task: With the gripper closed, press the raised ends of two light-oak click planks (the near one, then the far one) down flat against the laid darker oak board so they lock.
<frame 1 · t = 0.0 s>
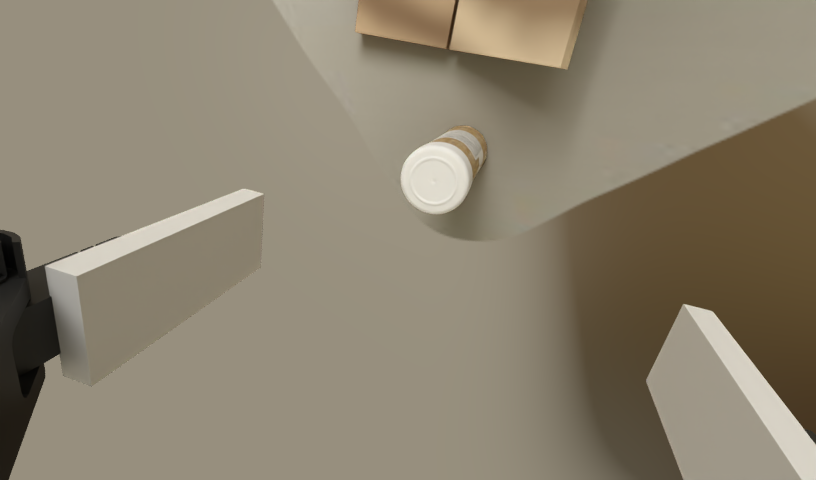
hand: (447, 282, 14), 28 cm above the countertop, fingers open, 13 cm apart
sprinkles bottle: (463, 149, 40), on the countertop
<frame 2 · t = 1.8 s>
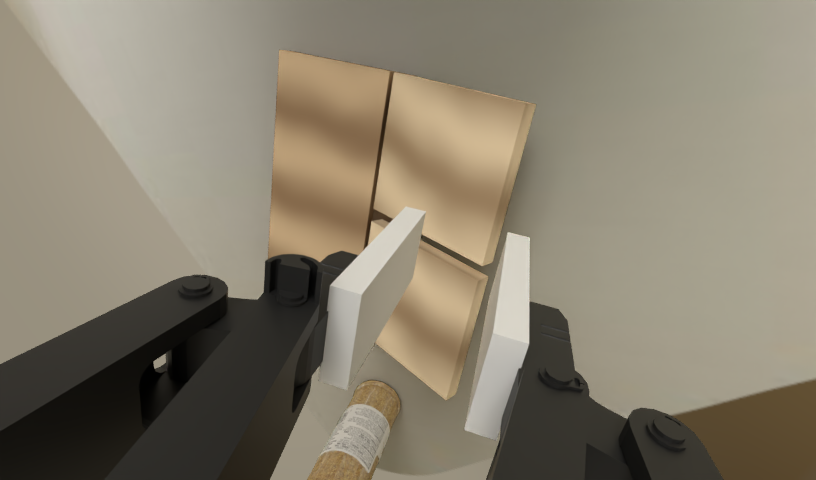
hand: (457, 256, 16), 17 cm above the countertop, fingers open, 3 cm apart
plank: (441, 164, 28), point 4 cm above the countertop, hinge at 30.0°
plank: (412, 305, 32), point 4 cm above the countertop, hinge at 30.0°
laid board: (328, 195, 35), on the countertop
sprinkles bottle: (378, 396, 41), on the countertop
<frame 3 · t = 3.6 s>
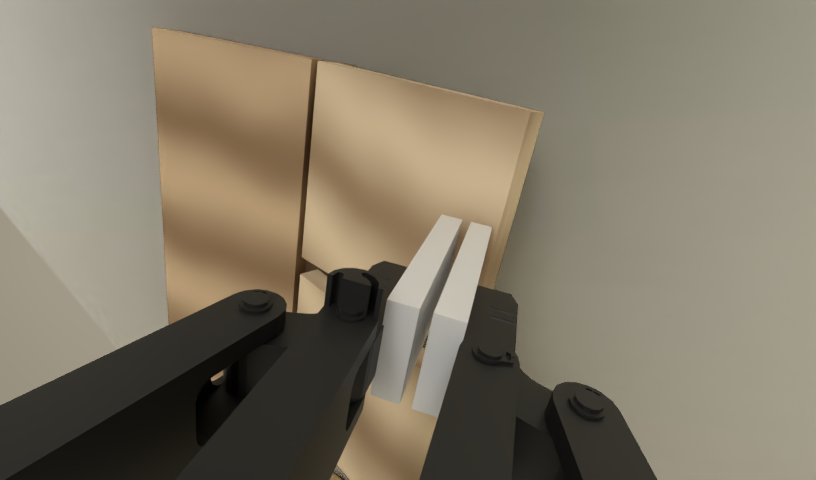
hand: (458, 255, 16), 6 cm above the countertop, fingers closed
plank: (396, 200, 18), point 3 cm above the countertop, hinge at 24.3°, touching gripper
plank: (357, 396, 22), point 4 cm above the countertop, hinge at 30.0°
laid board: (245, 234, 25), on the countertop
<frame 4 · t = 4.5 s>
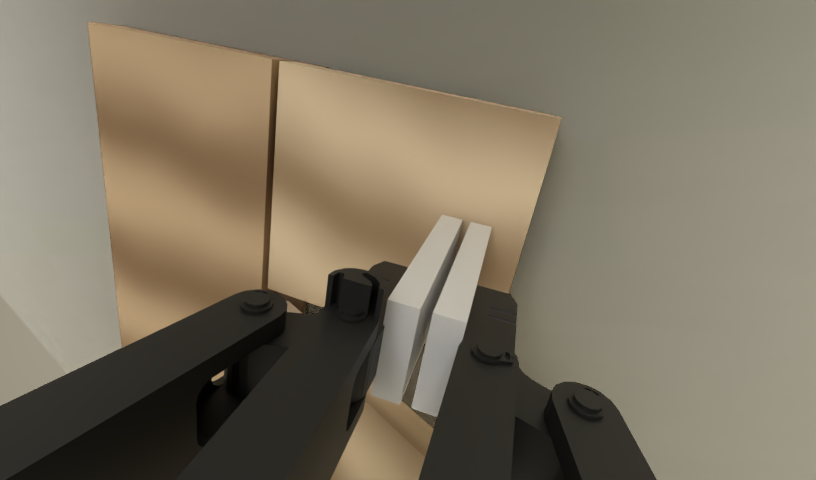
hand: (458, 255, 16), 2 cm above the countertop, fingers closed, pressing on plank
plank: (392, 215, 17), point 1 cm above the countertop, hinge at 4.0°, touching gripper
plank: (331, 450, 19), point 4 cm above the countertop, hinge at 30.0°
laid board: (206, 259, 22), on the countertop
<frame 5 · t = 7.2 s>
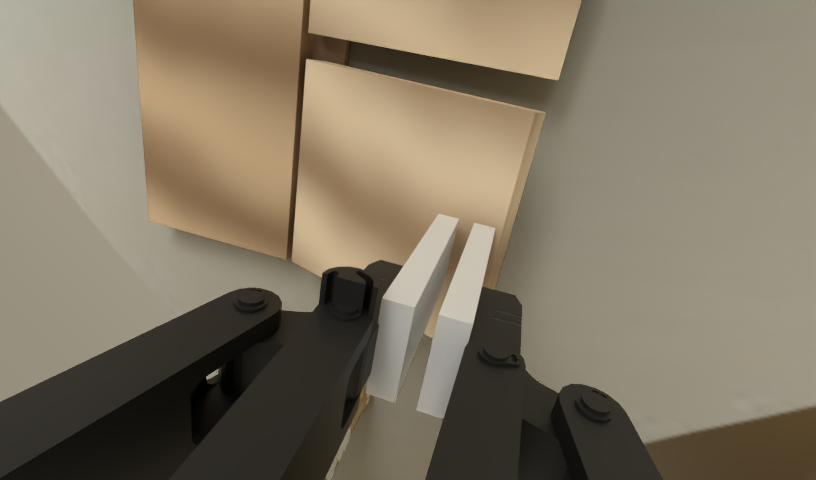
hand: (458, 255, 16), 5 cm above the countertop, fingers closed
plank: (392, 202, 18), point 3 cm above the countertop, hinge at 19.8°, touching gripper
laid board: (236, 30, 20), on the countertop
sprinkles bottle: (338, 378, 26), on the countertop
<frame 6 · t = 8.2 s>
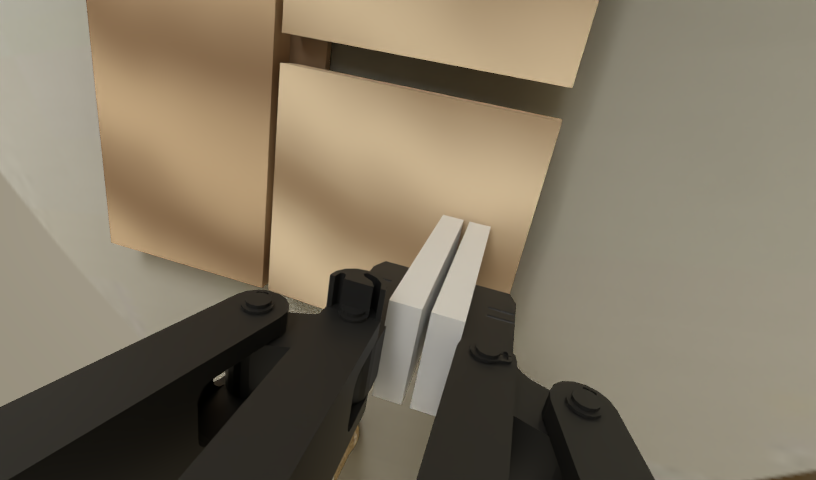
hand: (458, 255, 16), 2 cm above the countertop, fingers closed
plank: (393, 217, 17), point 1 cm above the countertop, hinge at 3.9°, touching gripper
laid board: (205, 30, 18), on the countertop
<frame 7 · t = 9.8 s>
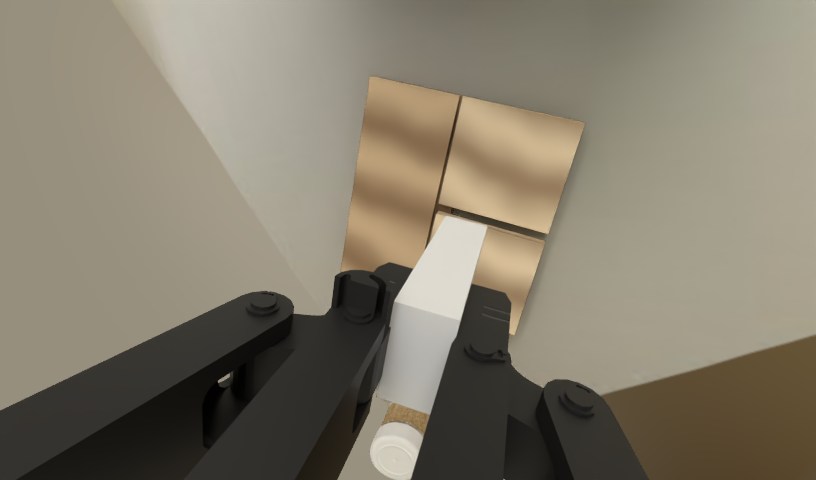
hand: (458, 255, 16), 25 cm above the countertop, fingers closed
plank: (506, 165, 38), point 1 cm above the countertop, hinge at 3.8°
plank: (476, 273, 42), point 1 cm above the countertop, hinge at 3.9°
laid board: (397, 193, 43), on the countertop
sprinkles bottle: (428, 364, 48), on the countertop
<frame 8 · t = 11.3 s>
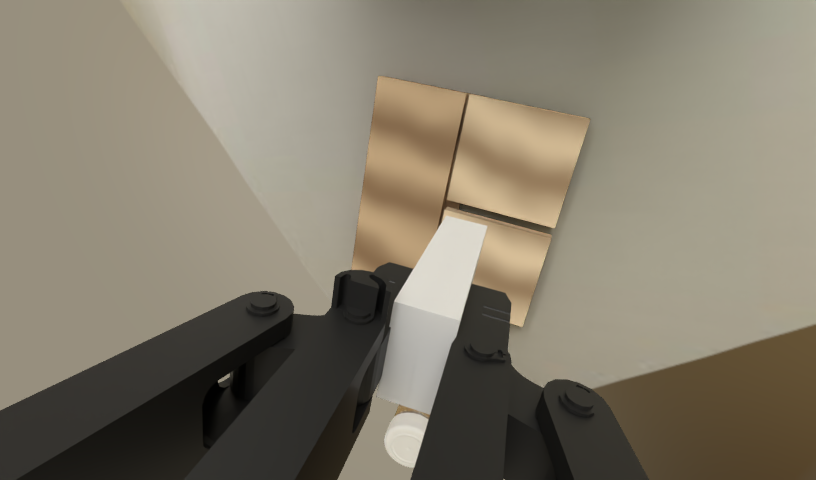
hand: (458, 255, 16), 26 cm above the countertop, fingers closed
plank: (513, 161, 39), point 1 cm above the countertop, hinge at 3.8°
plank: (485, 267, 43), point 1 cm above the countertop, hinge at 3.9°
laid board: (406, 189, 43), on the countertop
sprinkles bottle: (438, 356, 49), on the countertop
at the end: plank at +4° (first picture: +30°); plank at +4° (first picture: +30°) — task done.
